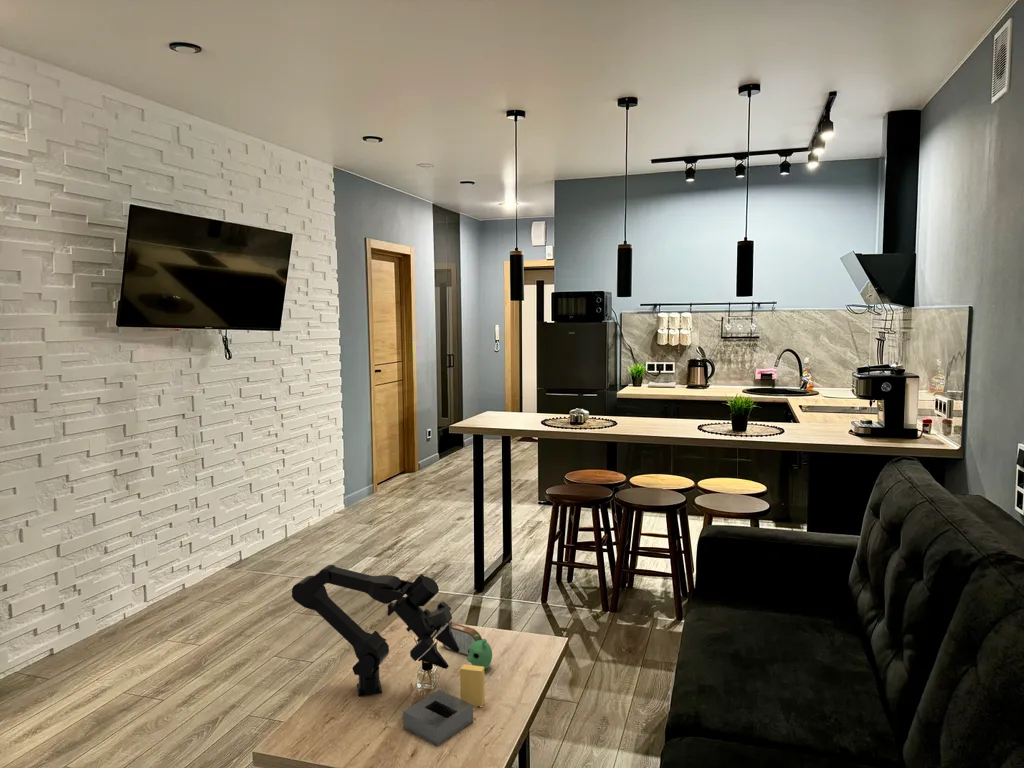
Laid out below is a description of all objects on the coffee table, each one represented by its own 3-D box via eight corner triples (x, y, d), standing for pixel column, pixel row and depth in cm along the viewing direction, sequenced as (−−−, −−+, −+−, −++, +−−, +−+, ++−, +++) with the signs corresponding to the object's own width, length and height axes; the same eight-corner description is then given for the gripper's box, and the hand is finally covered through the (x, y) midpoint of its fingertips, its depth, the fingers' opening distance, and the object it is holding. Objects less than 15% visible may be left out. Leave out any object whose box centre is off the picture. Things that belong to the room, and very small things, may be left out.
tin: (483, 656, 214) (483, 629, 213) (477, 660, 211) (477, 633, 211) (444, 644, 222) (444, 618, 221) (438, 648, 219) (438, 622, 219)
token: (460, 704, 188) (460, 668, 187) (463, 699, 190) (462, 664, 189) (482, 707, 186) (481, 671, 185) (484, 702, 189) (484, 666, 188)
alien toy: (462, 668, 207) (461, 635, 206) (483, 660, 211) (483, 628, 210) (475, 678, 201) (474, 644, 200) (497, 670, 206) (496, 637, 205)
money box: (403, 728, 177) (402, 711, 177) (439, 705, 187) (439, 689, 187) (437, 746, 170) (436, 728, 169) (473, 721, 180) (472, 704, 179)
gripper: (420, 611, 179) (462, 657, 177) (444, 584, 197) (482, 626, 195) (392, 638, 181) (433, 684, 180) (418, 609, 200) (456, 650, 198)
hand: (453, 659), depth 188 cm, fingers open, 9 cm apart
